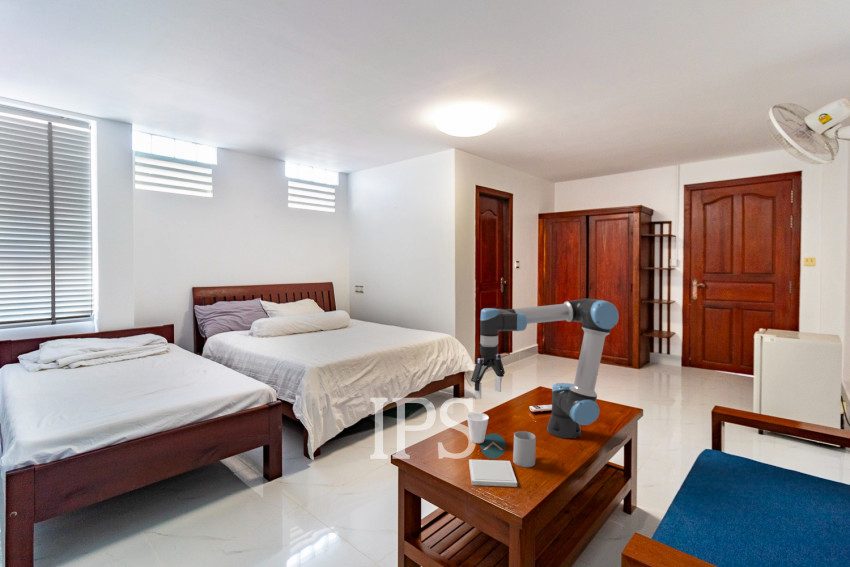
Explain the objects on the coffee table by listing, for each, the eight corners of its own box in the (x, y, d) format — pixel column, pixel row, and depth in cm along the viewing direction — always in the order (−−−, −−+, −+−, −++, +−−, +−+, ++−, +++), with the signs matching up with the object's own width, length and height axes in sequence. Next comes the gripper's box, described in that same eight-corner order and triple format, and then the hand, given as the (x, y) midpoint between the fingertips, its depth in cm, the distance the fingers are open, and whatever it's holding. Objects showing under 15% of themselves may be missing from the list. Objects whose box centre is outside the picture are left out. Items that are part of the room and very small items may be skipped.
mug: (530, 469, 157) (531, 441, 156) (509, 463, 161) (510, 436, 161) (540, 457, 166) (541, 431, 166) (520, 452, 171) (521, 426, 171)
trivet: (509, 464, 160) (509, 460, 160) (517, 486, 144) (517, 482, 144) (468, 463, 161) (469, 459, 161) (471, 484, 145) (471, 480, 145)
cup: (487, 446, 176) (488, 421, 175) (464, 444, 178) (465, 419, 177) (488, 437, 185) (489, 413, 185) (467, 435, 187) (467, 411, 187)
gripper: (499, 340, 184) (498, 386, 184) (462, 347, 166) (462, 398, 167) (513, 342, 178) (512, 390, 179) (477, 350, 161) (476, 403, 162)
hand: (488, 394), depth 173 cm, fingers open, 13 cm apart
